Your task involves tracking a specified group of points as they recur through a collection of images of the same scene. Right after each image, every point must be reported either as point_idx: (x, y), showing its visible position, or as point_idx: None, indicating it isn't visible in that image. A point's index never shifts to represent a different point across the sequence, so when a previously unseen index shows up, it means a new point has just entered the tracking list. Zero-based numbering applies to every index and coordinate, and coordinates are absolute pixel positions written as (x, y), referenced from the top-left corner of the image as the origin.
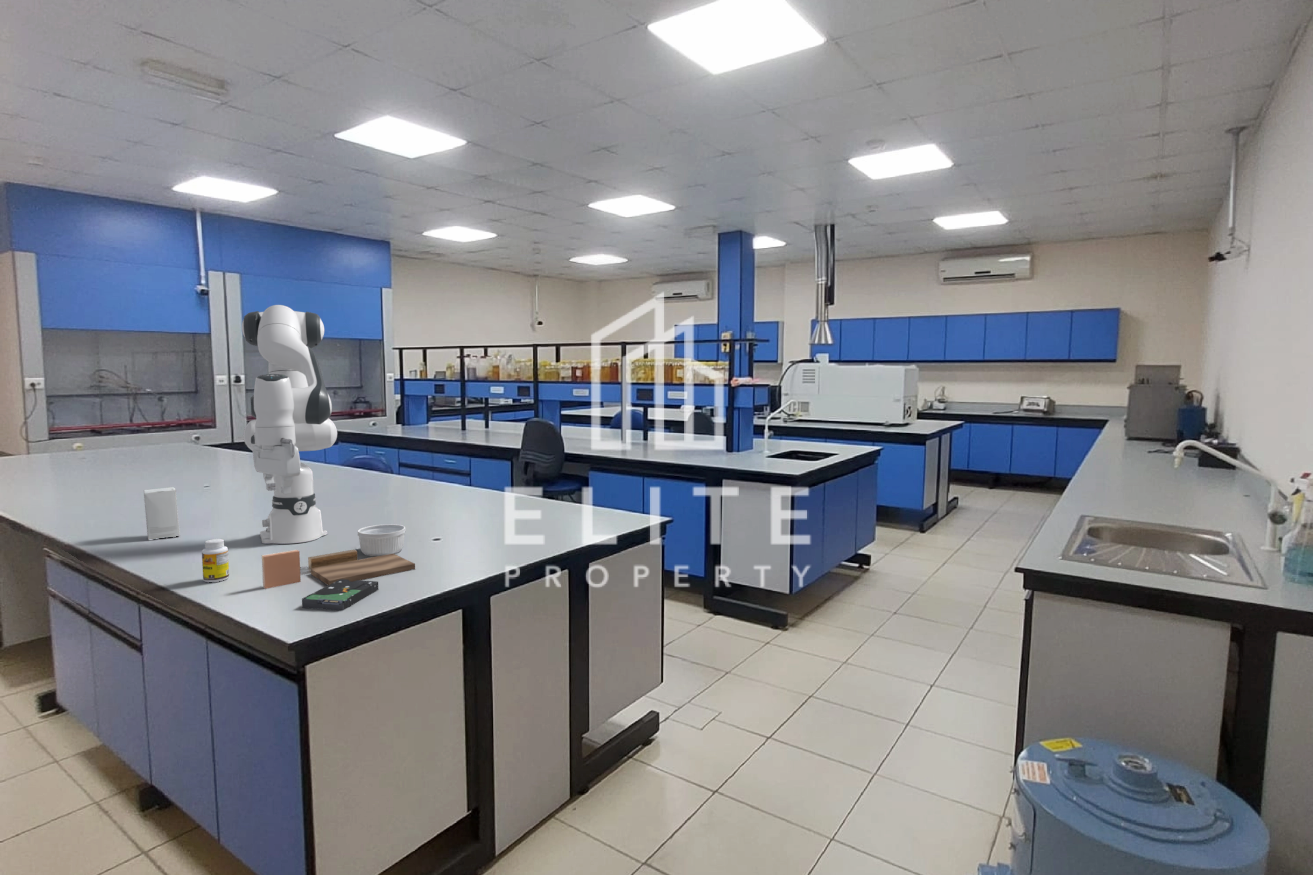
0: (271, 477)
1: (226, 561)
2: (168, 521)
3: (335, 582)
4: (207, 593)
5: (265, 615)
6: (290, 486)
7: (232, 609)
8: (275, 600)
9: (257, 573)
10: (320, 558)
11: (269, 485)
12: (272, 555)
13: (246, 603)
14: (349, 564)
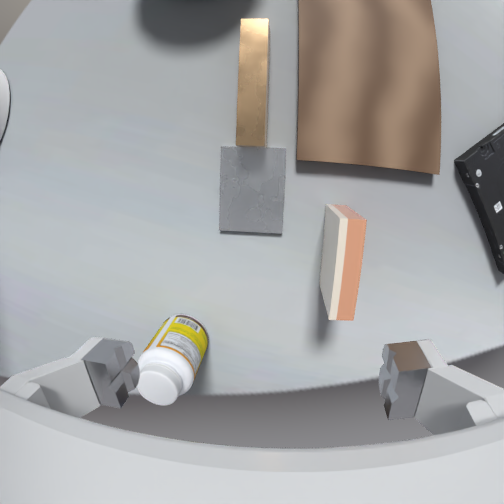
0: (42, 390)
1: (190, 342)
2: None
3: (477, 182)
4: (279, 370)
5: (483, 326)
6: (447, 366)
7: None
8: (432, 293)
9: (190, 256)
10: (265, 119)
11: (122, 395)
12: (355, 298)
13: (405, 336)
14: (331, 68)
